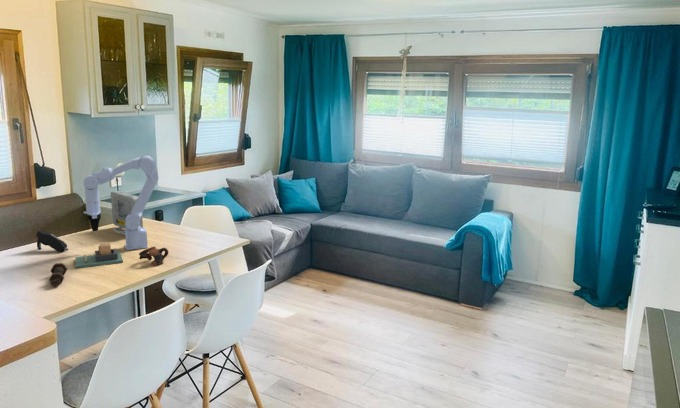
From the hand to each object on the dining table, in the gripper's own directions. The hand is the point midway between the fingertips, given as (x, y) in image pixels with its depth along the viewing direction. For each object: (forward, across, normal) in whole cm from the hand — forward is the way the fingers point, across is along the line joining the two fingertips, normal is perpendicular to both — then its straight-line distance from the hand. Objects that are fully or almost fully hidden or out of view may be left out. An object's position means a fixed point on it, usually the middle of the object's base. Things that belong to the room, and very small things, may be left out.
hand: (95, 230), depth 232 cm
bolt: (+10, +36, -16) cm, 41 cm away
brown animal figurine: (+10, +29, +21) cm, 37 cm away
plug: (+8, +17, +3) cm, 19 cm away
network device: (+10, -29, +16) cm, 34 cm away
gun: (+10, -8, -18) cm, 22 cm away
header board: (+9, +17, 0) cm, 19 cm away
